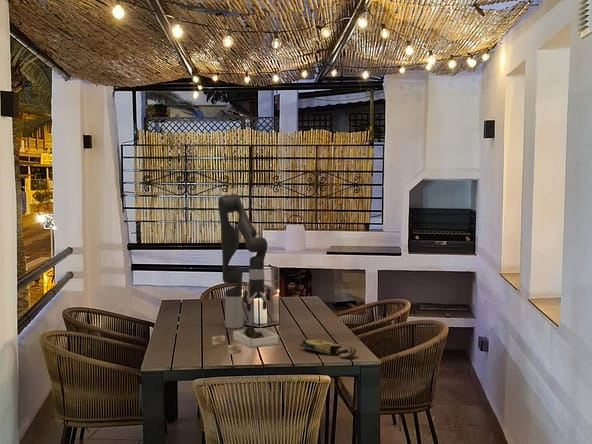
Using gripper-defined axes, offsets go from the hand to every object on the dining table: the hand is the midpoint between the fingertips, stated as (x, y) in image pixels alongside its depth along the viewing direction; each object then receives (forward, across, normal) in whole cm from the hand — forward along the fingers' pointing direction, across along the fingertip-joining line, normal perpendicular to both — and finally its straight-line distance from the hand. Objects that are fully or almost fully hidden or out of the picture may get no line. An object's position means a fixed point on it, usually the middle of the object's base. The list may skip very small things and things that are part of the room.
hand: (256, 310), depth 301 cm
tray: (+16, 0, 0) cm, 16 cm away
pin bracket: (+15, +19, +5) cm, 25 cm away
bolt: (+15, 0, 0) cm, 15 cm away
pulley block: (+16, -19, +36) cm, 44 cm away
